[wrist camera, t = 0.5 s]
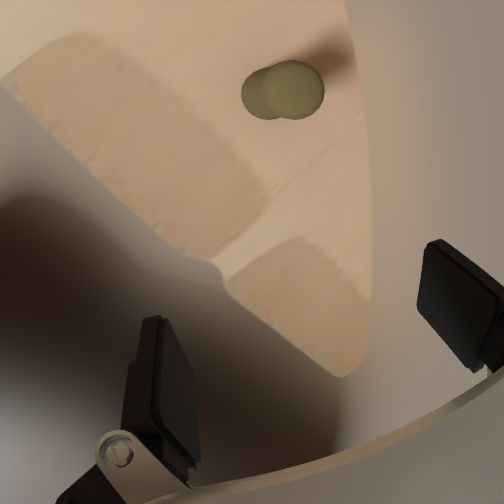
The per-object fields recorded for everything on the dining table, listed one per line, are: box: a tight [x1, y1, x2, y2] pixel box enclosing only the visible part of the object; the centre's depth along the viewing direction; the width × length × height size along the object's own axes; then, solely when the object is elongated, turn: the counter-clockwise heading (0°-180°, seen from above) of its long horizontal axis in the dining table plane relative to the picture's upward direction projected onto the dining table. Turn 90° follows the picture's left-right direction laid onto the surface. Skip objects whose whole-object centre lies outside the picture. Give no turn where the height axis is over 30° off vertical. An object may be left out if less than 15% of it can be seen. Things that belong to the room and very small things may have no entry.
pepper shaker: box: [241, 60, 325, 120], centre depth 26 cm, size 6×6×11 cm
